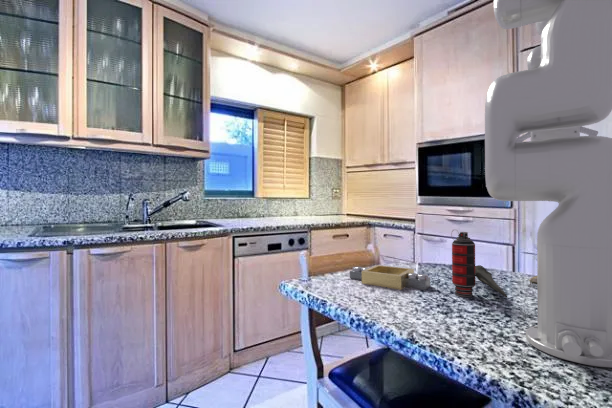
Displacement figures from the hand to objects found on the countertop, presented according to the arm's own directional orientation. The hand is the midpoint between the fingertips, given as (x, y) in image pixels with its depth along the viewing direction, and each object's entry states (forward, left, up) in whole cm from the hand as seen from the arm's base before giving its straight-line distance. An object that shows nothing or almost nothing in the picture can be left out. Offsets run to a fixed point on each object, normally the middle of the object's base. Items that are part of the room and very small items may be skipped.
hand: (554, 167), depth 86 cm
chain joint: (-23, +37, -31) cm, 53 cm away
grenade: (-24, +19, -31) cm, 43 cm away
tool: (-14, +15, -32) cm, 38 cm away
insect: (-4, +3, -31) cm, 31 cm away
